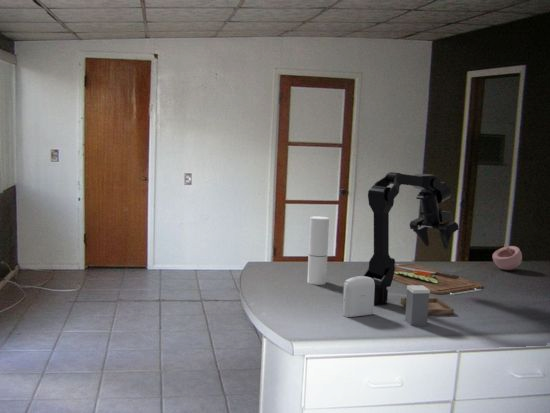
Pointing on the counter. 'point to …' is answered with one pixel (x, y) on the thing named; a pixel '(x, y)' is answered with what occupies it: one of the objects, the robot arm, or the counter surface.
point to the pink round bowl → (507, 257)
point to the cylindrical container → (318, 250)
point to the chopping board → (433, 279)
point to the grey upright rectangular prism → (417, 305)
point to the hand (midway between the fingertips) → (437, 247)
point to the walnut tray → (435, 307)
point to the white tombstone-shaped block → (358, 296)
